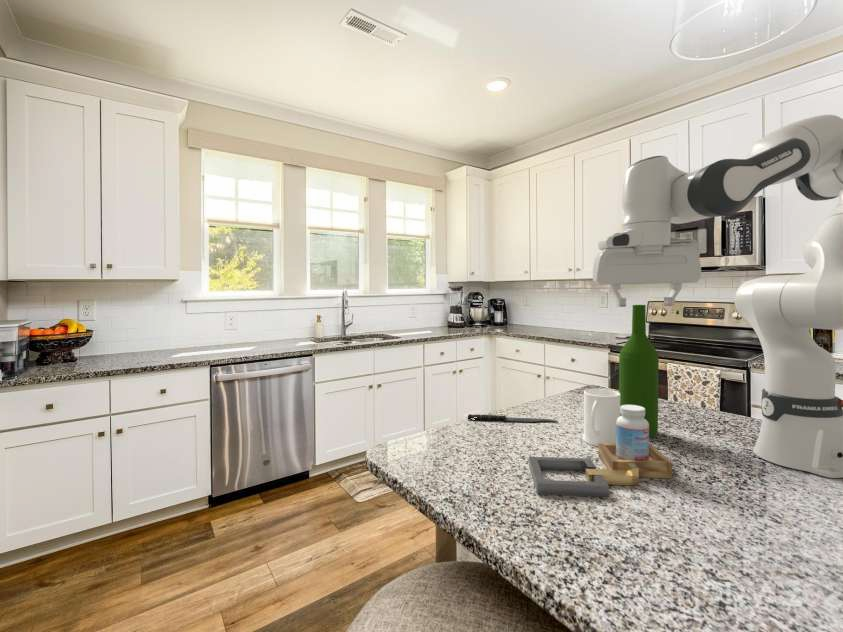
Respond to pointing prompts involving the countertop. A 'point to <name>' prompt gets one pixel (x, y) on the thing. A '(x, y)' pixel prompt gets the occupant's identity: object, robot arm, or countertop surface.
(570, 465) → the socket
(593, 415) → the mug
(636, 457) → the pill bottle
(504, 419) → the knife
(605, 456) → the tray
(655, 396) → the wine bottle
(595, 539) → the countertop surface
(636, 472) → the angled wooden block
